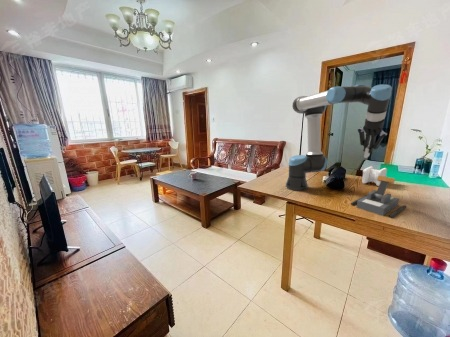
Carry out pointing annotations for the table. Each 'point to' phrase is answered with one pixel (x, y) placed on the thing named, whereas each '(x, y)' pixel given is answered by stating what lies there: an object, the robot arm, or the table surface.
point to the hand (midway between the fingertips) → (366, 156)
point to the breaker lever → (383, 186)
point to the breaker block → (377, 203)
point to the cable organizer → (373, 175)
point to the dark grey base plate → (391, 214)
